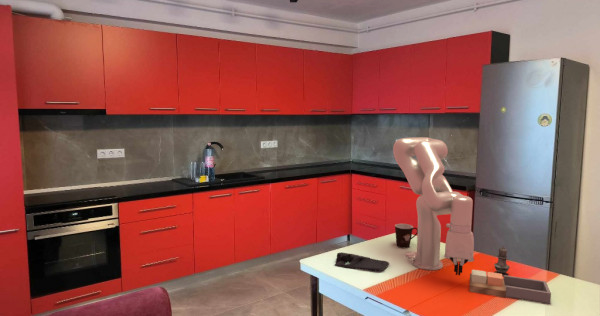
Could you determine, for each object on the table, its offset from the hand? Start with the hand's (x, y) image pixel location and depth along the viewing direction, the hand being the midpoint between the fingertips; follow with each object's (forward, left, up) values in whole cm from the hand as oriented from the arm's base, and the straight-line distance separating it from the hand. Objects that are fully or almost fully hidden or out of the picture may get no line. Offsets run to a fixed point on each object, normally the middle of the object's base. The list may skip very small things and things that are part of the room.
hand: (457, 273), depth 159 cm
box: (+23, 0, -4) cm, 24 cm away
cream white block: (+7, 0, -1) cm, 8 cm away
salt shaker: (+16, +17, -4) cm, 24 cm away
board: (+10, 0, -4) cm, 11 cm away
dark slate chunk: (-39, +4, -5) cm, 40 cm away
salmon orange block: (+13, 0, -1) cm, 13 cm away
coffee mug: (-25, +36, -4) cm, 44 cm away
